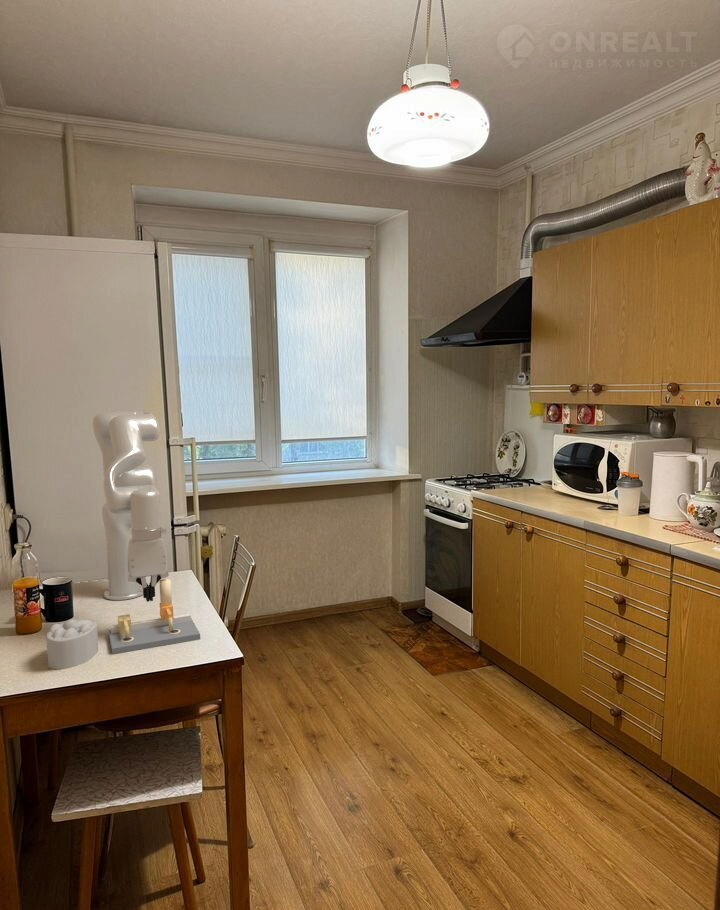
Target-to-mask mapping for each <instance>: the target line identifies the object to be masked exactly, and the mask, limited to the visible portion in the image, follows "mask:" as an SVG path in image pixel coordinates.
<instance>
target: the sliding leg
mask: <svg viewBox="0 0 720 910" xmlns="http://www.w3.org/2000/svg"><path fill="white" fill-rule="evenodd" d="M159 597H160V598H159V599H160V602H159V617H160V618H161V619H162V621H163V620H168V621H169V631H173V624H172V619H174V618H173V616H174V605H173V603H172V602H173V601H172V600H173V599H172V581H171V579H170V578H163V579H160V581H159Z"/></svg>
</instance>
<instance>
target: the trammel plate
mask: <svg viewBox="0 0 720 910" xmlns="http://www.w3.org/2000/svg"><path fill="white" fill-rule="evenodd" d="M173 618H174V619H172V624H173V631H169V621H168V620H163V621H162V619H161V617H160V618H159V617H158V618H154V619H153V618H152V619H147V620H142V621H135V622H134V621H133V622H132V619H131V616H130V614H129V613H128V614H123V615H117V624H116V625H110V629H108V637H109V643H110V649H111V653H112V655H116V654H122V653H123V654H124V653H128V652H135V651H140V650H145V649H151V648H156V647H157V648H159V647H163V646H169V645H174V644H180V643H185V642H191V641H197V640H201V633H200V631H199V629H198V627H197V626H196V623H195V622H194V620H193V619H192V617H191V614H190V613H187V614H180V615H179V614H178V615H173Z"/></svg>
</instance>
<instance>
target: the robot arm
mask: <svg viewBox="0 0 720 910" xmlns="http://www.w3.org/2000/svg"><path fill="white" fill-rule="evenodd" d="M92 429H93V434H94V437H95V439H96V442H97V444H98V446H99V448H100V452H101V455H102V466H103V467H102V468H103V491H104V497H105V498H104V499H105V503H104V504H103V505H102V508H101V516H102V521H103V526H104V531H105V539H106V540H105V541H106V542H105V543H106V556H107V557H106V558H107V559H106V560H107V561H106V562H107V577H108V578H107V580H108V589H107V590H105V591H104V592H103V597H104V598H105V599H106V600H107V599H108V600H112V601H124V600H131V599H132V600H133V599H135V598H138V597H141V596H142V595H143V597H142V598H143V599H145V601H146V602H153V601H154V598H155V597H156V586H157V584H158V583H160V580H162V579H167V578H168V577H169V576H170V573H169V571H168V569H169V568H168V567H169V566H168V555H167V549H166V542H165V538H164V537H163V535H164V534H165V535H166V534H167V528H162V526H161V525H162V524H161V511H160V510H161V507H160V506H161V505H160V503H161V494H160V490H159V489H158V482H157V473H156V471H155V468H153V466H152V465H151V464H147V463H144V462H145V460H146V452H145V448H144V444H143V443H144V442H155V441H157V440H158V439H159V438H160V433H161V428H160V423H159V420H158V418H157V417H156V415H154V413H151V412H149V411H147V410H124V411H123V410H118V411H116V410H113V411H103V412H99V413H97V414H96V415H94V417H93V419H92ZM129 529H131V531H130V530H129ZM146 577H150V582H149V583H148V582H147V579H146Z"/></svg>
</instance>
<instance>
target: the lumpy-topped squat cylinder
mask: <svg viewBox="0 0 720 910" xmlns="http://www.w3.org/2000/svg"><path fill="white" fill-rule="evenodd" d="M98 652H99V635H98V624H97V622H95V621H91V620H89V619H68V620H66V621H64V622H62V623H55V624H52V625H51V627H50V628H49V631H48V632H47V633H46V654H47V655H46V656H47V665H48V667H49V668H51V669H53V670H67V669H72V668H74V667H75V668H76V667H78V666H81V665H82V664H85V663H87V662H89V661H90V660H92V659H93V658H94V657H95V656H96V655H97V654H98Z"/></svg>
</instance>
